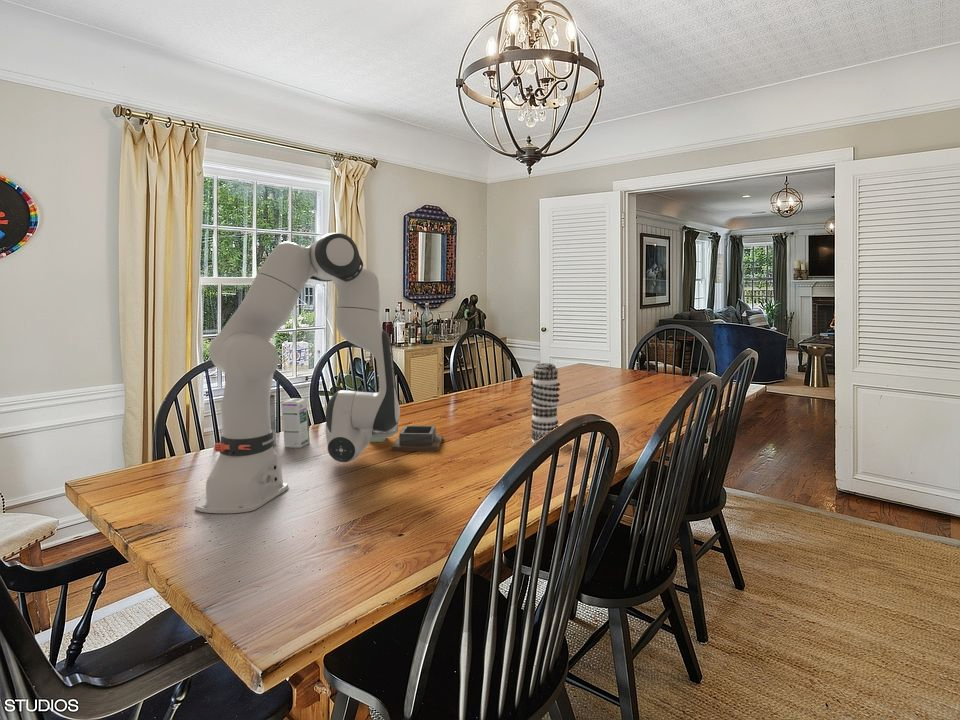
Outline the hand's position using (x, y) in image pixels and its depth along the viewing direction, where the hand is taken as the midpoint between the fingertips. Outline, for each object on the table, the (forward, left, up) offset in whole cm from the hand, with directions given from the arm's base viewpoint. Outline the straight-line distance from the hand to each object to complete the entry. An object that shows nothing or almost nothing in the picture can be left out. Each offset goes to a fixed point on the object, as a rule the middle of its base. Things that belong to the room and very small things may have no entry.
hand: (368, 420), depth 173 cm
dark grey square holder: (+7, -14, -9) cm, 18 cm away
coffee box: (+5, +36, -10) cm, 38 cm away
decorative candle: (+11, -54, -9) cm, 56 cm away
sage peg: (+12, 0, -9) cm, 15 cm away
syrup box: (+5, +24, -9) cm, 26 cm away
